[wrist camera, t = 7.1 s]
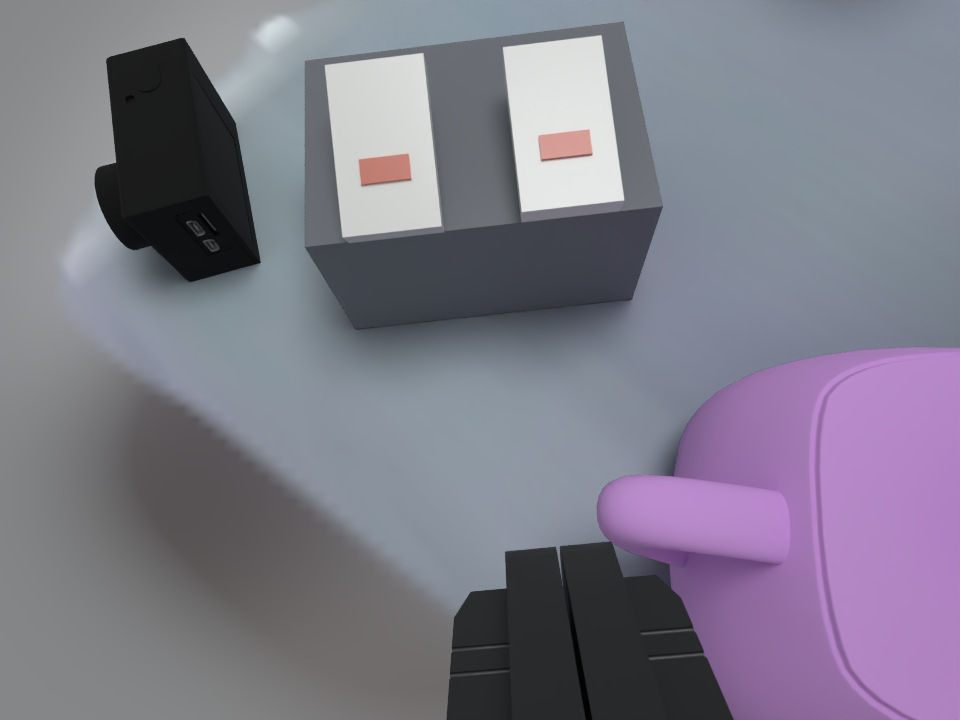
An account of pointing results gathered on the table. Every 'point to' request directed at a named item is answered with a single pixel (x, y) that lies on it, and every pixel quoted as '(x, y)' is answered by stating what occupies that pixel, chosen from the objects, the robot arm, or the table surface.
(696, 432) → the teapot
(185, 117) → the digital camera
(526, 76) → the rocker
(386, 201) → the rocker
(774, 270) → the table surface
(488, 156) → the switch box
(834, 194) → the table surface
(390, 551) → the table surface
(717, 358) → the table surface
